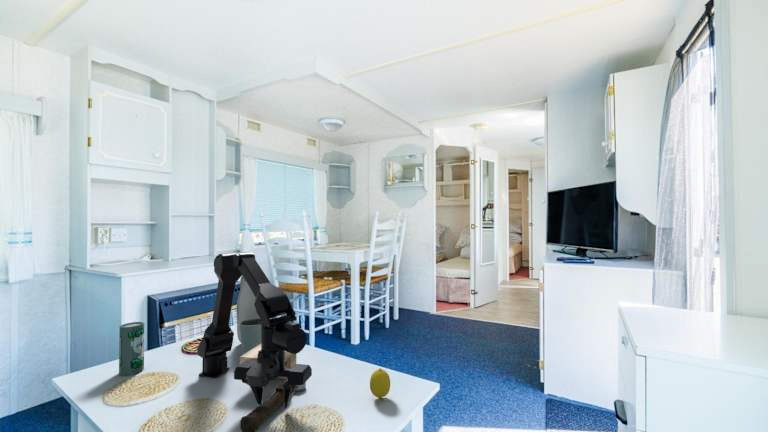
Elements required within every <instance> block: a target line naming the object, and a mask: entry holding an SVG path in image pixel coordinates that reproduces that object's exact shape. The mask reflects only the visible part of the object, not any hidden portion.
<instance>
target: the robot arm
mask: <svg viewBox="0 0 768 432" xmlns="http://www.w3.org/2000/svg"><path fill="white" fill-rule="evenodd" d="M213 267H214V269H213V271H214V274H215V275H216V277H217V279H218V282H217V288H216V293H215V294H216V295H215V300H214V307H213V313H212V320H211V322H210V324H209V325H208V326H207V327H206V329H205V330H204V333H203V336H202V339H201V340H200V342H199V344H198V346H197V348H196V351H197V356H199V357H200V358H202V372H200V373H199V374H198V376H199V377H207V378H219V377H220V376H221V375H224V373H227V371H229V370H230V367H229V366H228V356H227V352H228V353H229V352H231V351H232V347H233V343H234V336H235V335H234V334H235V333H234V331H233V330H232V328H231V326H230V318H231V313H232V309H233V302H234V295H235V289H236V284H237V282H238V280H239V279H241V277H242V275H243V277H244V279H245V280H246V282H247V284H248V285H249V287H250V289H251V290H252V292H253V294H254V296H255V302H254V306H255V308H256V312H257V314H258V315H259V317H260V320H259V321H258V324H260V325H261V350H260V351H258V358H257V361H254V360H246V361H245V362H243V363H242V364H240V363H239V365H237V366H235V368H234V371H233V379H234V380H236V381H237V380H238V381H241V382H242V383H243V384H245V385H248V387H249V388H250V389H251V391H252V394H253V397H254V399H255V401H256V404H257V406H259V405H260V404H261V403H262V402H263V398H264V397H263V395H264V394H263V393H264V388H265V387H267V386H268V385H269V384H270V382H271V381H274V382H275V381H276V380H277V379H278V378H277V377H278V376H281V377H287V379H286V380H287V382H286V383H285V384H284V385H283V387H284V388H285V404H284V408H285V409H288V408H289V405H290V403H291V401H292V397H293V396H294V394H295V393H294V390H295V388H296V386H297V385H303V384H304V383H305V382H307V381H308V380H310V378H311V377H312V375H313V374H312V373H313V372H312V371H313V369H312V367H311V365H310V364H301V363H300V364H299V363H296V365H295V366H294V367H293V368H292V369H288V368H285V366H286V365H287V360H285V351H287V352H289V353H292V354H296V355H297V354H299V353H301V352H302V350H304V348H305V346H306V345H307V340H308V335H307V334H306V332H305V330H304V329H302V328H300V327H301V326H300V325H301V324H300V323H299V322H295V321H297V316H296V312H295V310H294V308H293V306H292V305H293V304H291V303H292V302H291V301H290V298H289V296H288V295H287V294H286V293H285V291H283V290H282V288H280V287H278V286H276V285H274V284H272V283H271V281H270V279H269V278H268V277H267V275H266V273H265V272H264V270H263V269H262V267H261V266H260V265H259V263H258V262H257V259H256V255H255V253H253V252H250V251H249V252H228V253H219V254H218V255H216V256H215V258H214V259H213Z"/></svg>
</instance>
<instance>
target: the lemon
mask: <svg viewBox="0 0 768 432" xmlns="http://www.w3.org/2000/svg"><path fill="white" fill-rule="evenodd" d="M369 388H370V392H371V394H372V395H373V396H374V397H376V398H377V399H379V400H382V398H384V397H386V396H387V395H388V394H389V392H390V390H391V378H390V375H389V373H388V372H387V371H386V370H384V369H382V368H378V369H376V370H374V371H373V372H372V374H371V376H370V379H369Z"/></svg>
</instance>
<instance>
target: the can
mask: <svg viewBox="0 0 768 432" xmlns="http://www.w3.org/2000/svg"><path fill="white" fill-rule="evenodd" d="M118 339H119V341H118V342H119V343H118V344H119V346H118V347H119V348H118V355H119V356H118V375H119V376H120V377H121V376H122V377H129V376H134V375H136V374H139V373H142V372H143V370H144V369H145V322H144V321H132V322H127V323H124V324H121V325H119V338H118Z"/></svg>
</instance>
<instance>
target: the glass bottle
mask: <svg viewBox="0 0 768 432" xmlns="http://www.w3.org/2000/svg"><path fill="white" fill-rule="evenodd" d="M239 282H240V283H239V284H240V285H239V286H240V288H239V292H238V296H237V301H236V333H237V339H238V341H239V342H240V343H241V341H242V340H241V333H240V322H242V321H244V320H247V319H252V318H260V317H259V315H258V314H257V312H256V308H255V306H254V302H255V296H254V294H253V292H252V290H251V289H250V287H249V285H248V284H247V282H246V280H245V279H244V277H243V275H242V276H241V277H240V280H239Z"/></svg>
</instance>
